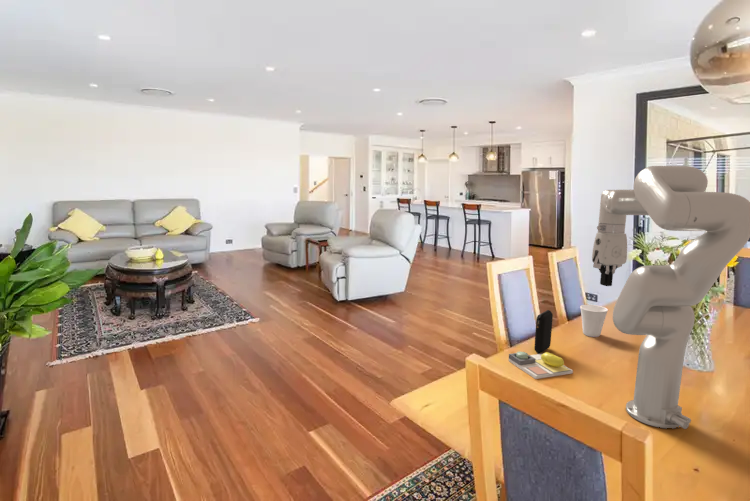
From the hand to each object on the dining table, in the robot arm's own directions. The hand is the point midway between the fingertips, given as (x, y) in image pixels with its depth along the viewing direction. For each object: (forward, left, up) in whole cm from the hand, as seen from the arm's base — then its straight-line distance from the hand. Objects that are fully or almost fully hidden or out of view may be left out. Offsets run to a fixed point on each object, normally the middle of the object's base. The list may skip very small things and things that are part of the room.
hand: (605, 285), depth 139 cm
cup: (+23, -19, -27) cm, 40 cm away
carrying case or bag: (+14, +12, -27) cm, 33 cm away
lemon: (+1, +18, -26) cm, 32 cm away
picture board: (+3, +21, -27) cm, 34 cm away
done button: (+7, +25, -26) cm, 36 cm away
